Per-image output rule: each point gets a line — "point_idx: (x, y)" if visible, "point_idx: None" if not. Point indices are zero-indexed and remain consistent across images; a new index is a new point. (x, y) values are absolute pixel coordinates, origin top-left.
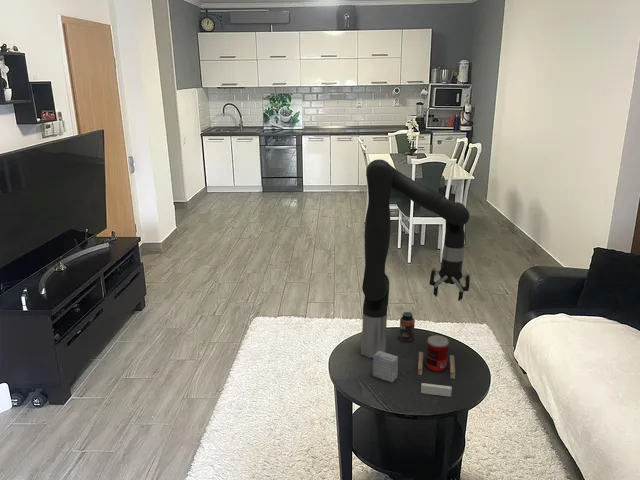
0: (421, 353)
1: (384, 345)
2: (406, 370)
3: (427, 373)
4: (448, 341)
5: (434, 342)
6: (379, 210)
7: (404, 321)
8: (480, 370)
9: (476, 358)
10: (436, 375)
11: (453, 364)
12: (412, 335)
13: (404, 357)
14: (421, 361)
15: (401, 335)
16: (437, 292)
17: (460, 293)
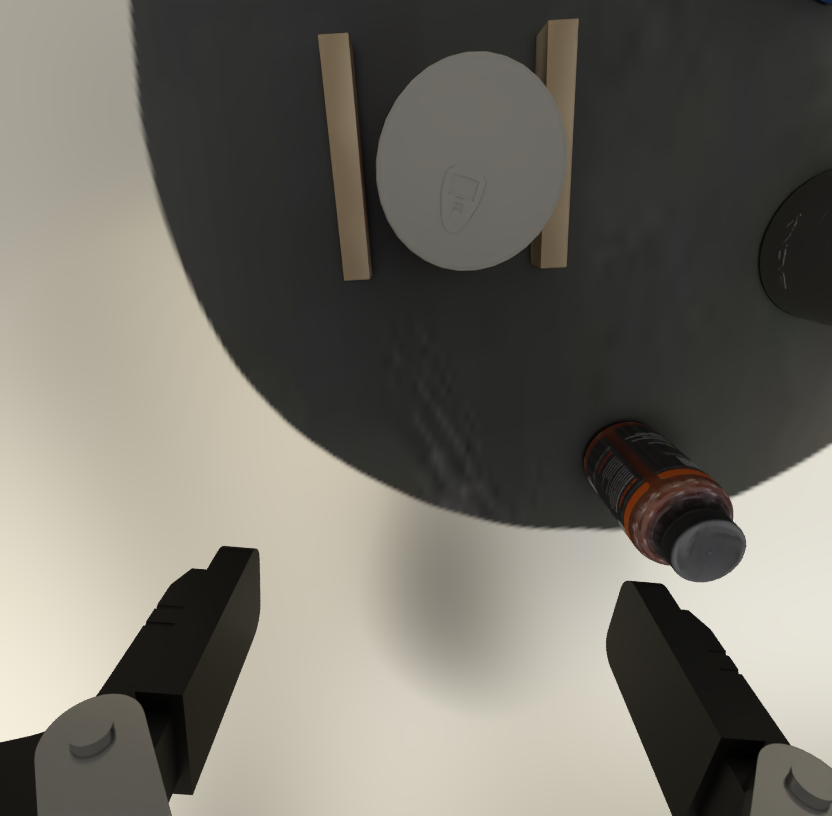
0: (552, 248)
1: (826, 223)
2: (635, 71)
3: None
4: (378, 173)
5: (503, 131)
6: None
7: (711, 488)
8: (183, 213)
9: (224, 348)
10: None
11: (339, 157)
12: (604, 452)
13: (641, 240)
14: None
15: (668, 441)
16: (637, 668)
17: (163, 660)
